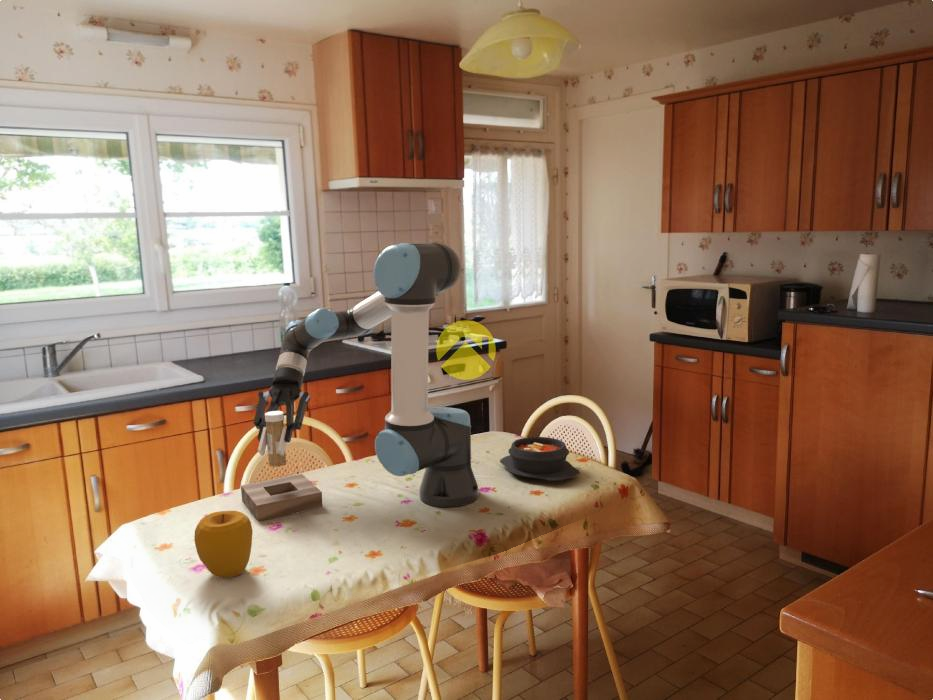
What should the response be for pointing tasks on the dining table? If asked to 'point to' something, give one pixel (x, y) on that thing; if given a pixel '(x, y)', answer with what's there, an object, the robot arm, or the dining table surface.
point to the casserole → (539, 459)
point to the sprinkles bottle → (274, 437)
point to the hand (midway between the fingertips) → (270, 452)
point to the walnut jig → (281, 497)
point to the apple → (224, 542)
